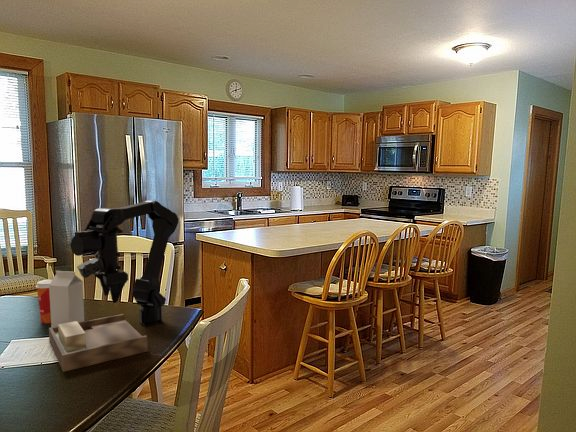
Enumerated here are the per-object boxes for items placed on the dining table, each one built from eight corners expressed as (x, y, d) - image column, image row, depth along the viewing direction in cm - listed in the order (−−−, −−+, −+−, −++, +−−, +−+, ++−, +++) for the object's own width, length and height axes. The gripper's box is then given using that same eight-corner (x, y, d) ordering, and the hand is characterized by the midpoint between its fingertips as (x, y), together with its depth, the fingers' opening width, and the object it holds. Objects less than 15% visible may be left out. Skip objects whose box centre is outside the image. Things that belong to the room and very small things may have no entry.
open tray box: (123, 326, 143) (123, 313, 143) (147, 351, 124) (147, 336, 123) (49, 342, 130) (48, 327, 130) (63, 371, 111) (62, 355, 110)
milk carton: (70, 331, 139) (67, 274, 137) (51, 329, 140) (48, 273, 138) (84, 323, 146) (82, 269, 144) (66, 322, 147) (63, 268, 145)
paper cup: (44, 317, 152) (42, 278, 151) (66, 316, 153) (64, 278, 151) (33, 325, 144) (30, 284, 143) (56, 324, 145) (54, 284, 144)
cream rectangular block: (77, 333, 129) (76, 320, 129) (86, 346, 119) (85, 333, 119) (58, 337, 126) (58, 324, 126) (66, 351, 116) (65, 337, 116)
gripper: (72, 248, 132) (75, 296, 134) (86, 258, 118) (90, 312, 120) (109, 243, 139) (112, 290, 141) (127, 253, 125) (130, 304, 126)
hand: (110, 298), depth 132 cm, fingers open, 9 cm apart
